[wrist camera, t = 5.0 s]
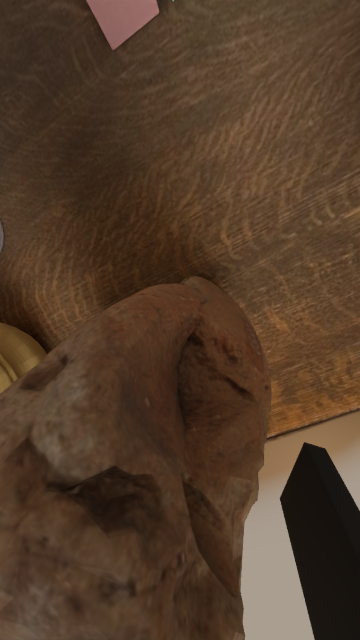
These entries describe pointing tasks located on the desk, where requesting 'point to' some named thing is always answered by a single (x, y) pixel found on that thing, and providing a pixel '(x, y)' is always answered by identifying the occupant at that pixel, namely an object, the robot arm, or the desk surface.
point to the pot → (17, 354)
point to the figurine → (1, 236)
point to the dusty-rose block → (122, 17)
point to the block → (134, 473)
